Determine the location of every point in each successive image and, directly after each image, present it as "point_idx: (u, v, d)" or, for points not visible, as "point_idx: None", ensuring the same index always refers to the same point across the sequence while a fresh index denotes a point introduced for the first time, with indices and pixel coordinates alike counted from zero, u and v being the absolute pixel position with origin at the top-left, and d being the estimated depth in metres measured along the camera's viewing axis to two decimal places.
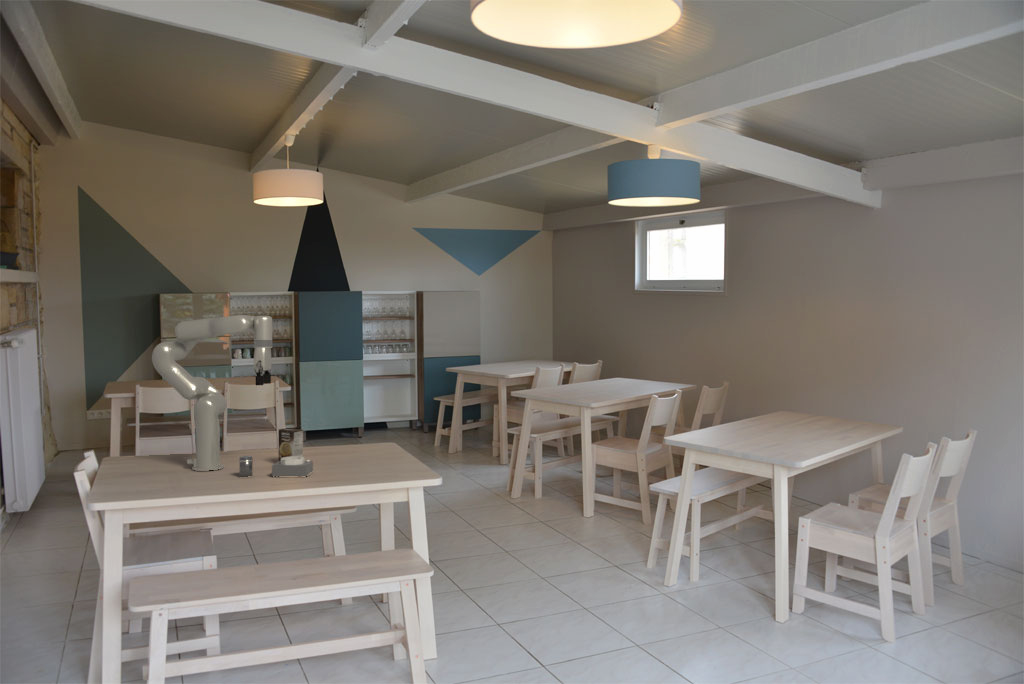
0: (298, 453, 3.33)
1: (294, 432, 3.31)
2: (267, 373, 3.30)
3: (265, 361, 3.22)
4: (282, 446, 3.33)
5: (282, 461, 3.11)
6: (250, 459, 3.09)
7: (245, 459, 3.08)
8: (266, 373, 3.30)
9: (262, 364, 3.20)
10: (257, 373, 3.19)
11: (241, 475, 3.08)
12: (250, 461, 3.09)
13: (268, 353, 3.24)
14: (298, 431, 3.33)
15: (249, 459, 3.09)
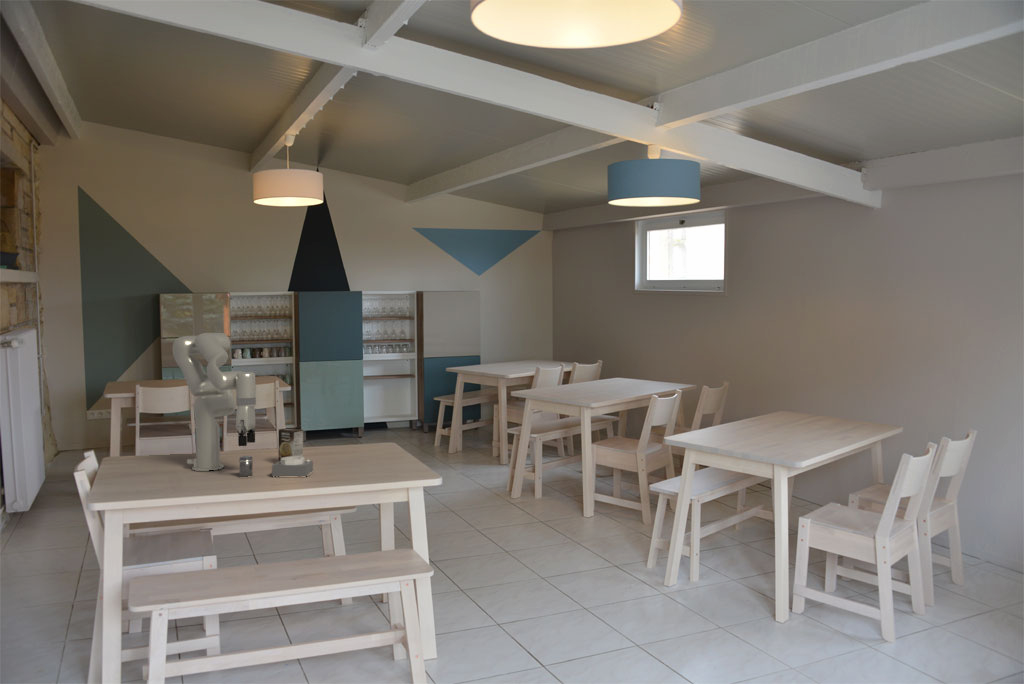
0: (298, 453, 3.33)
1: (294, 432, 3.31)
2: (251, 432, 3.15)
3: (248, 420, 3.06)
4: (282, 446, 3.33)
5: (282, 461, 3.11)
6: (250, 459, 3.09)
7: (245, 459, 3.08)
8: (250, 432, 3.15)
9: (245, 424, 3.05)
10: (240, 433, 3.03)
11: (241, 475, 3.08)
12: (250, 461, 3.09)
13: (251, 411, 3.09)
14: (298, 431, 3.33)
15: (249, 459, 3.09)
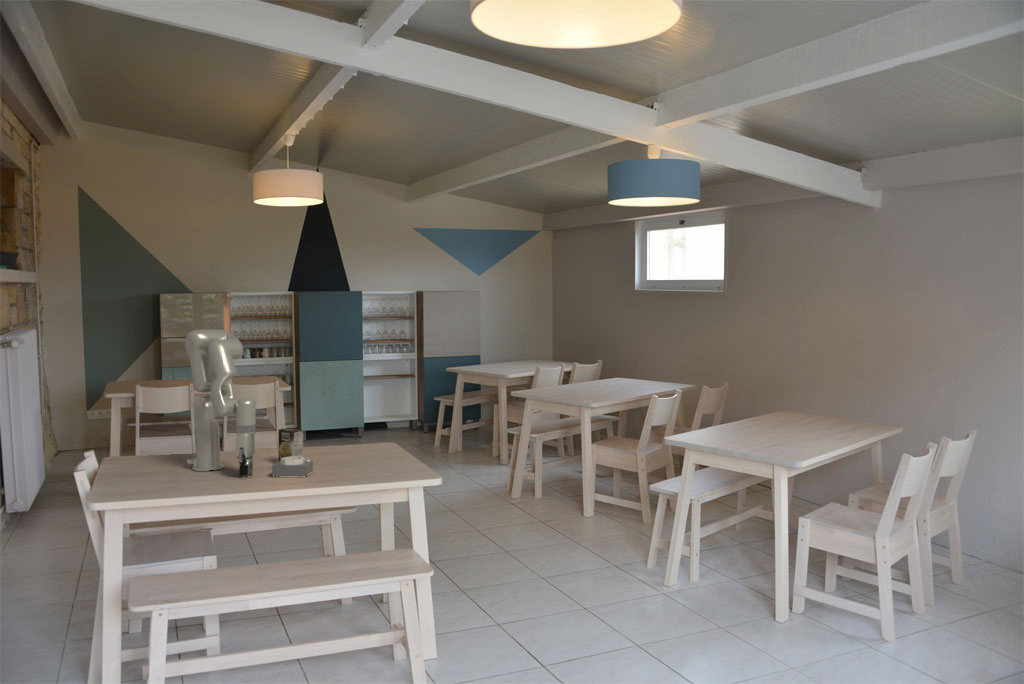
0: (298, 453, 3.33)
1: (294, 432, 3.31)
2: None
3: (248, 448, 3.07)
4: (282, 446, 3.33)
5: (282, 461, 3.11)
6: (250, 459, 3.09)
7: None
8: None
9: (245, 454, 3.06)
10: (241, 463, 3.06)
11: (241, 475, 3.08)
12: (250, 461, 3.09)
13: (251, 439, 3.09)
14: (298, 431, 3.33)
15: (249, 459, 3.09)
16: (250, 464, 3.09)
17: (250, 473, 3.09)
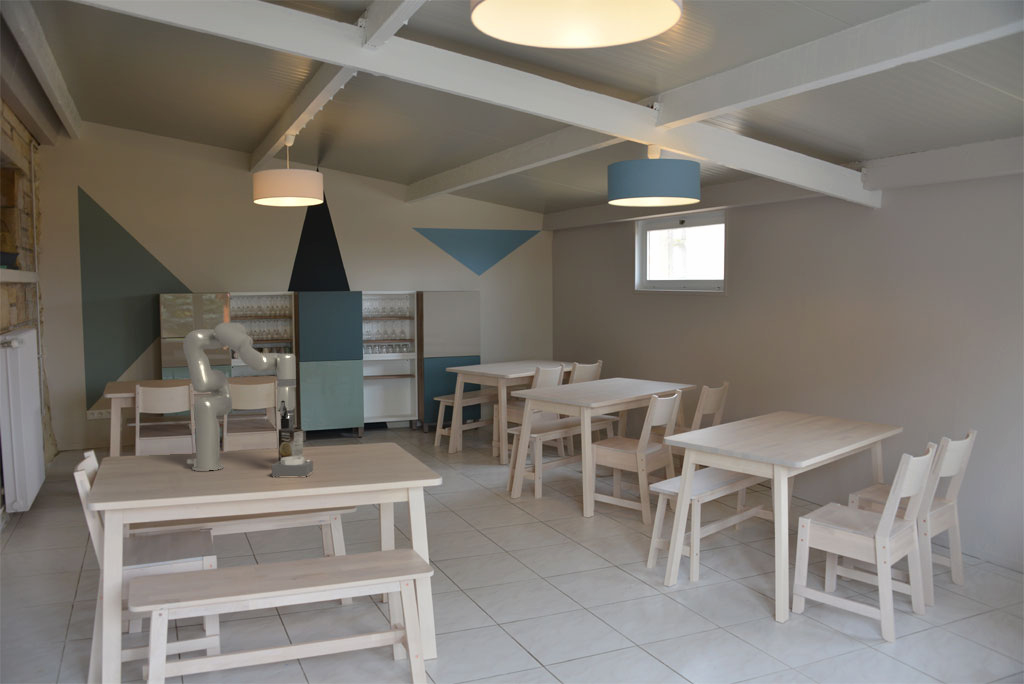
0: (298, 453, 3.33)
1: (294, 432, 3.31)
2: None
3: (289, 401, 3.09)
4: (282, 446, 3.33)
5: (282, 461, 3.11)
6: (291, 413, 3.12)
7: None
8: None
9: (286, 407, 3.08)
10: (282, 416, 3.08)
11: None
12: (291, 415, 3.12)
13: (292, 392, 3.12)
14: (298, 431, 3.33)
15: (290, 412, 3.12)
16: (291, 418, 3.12)
17: (291, 426, 3.12)
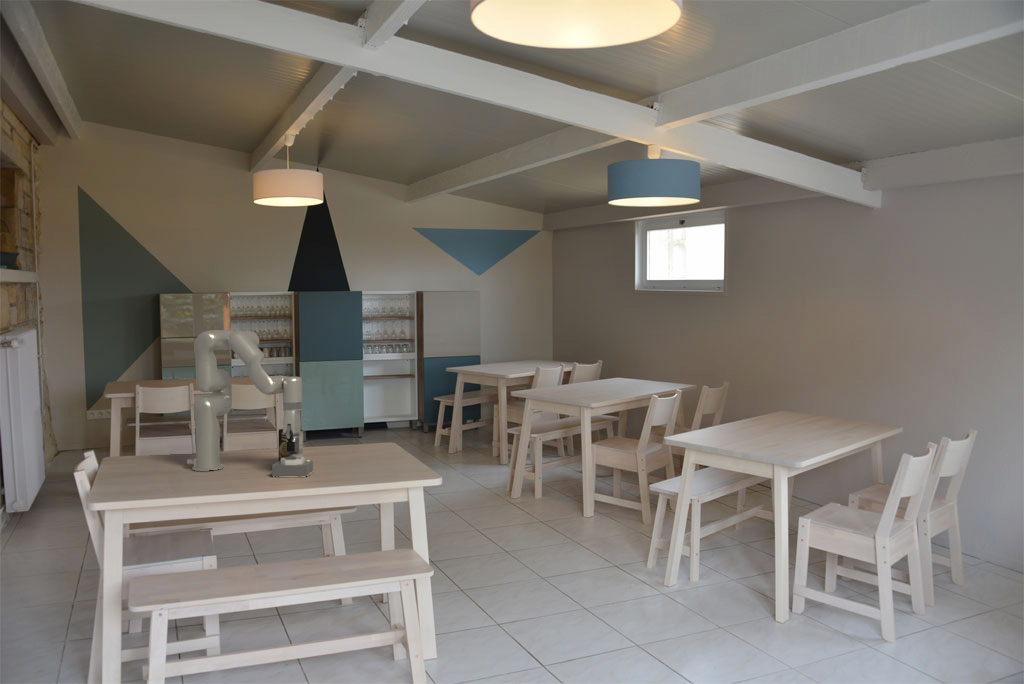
0: (298, 453, 3.33)
1: None
2: None
3: (295, 424, 3.10)
4: (282, 446, 3.33)
5: (282, 461, 3.11)
6: (297, 436, 3.13)
7: None
8: None
9: (292, 431, 3.09)
10: (288, 439, 3.09)
11: None
12: (297, 438, 3.13)
13: (298, 415, 3.13)
14: None
15: (296, 436, 3.13)
16: (297, 441, 3.13)
17: (297, 449, 3.13)
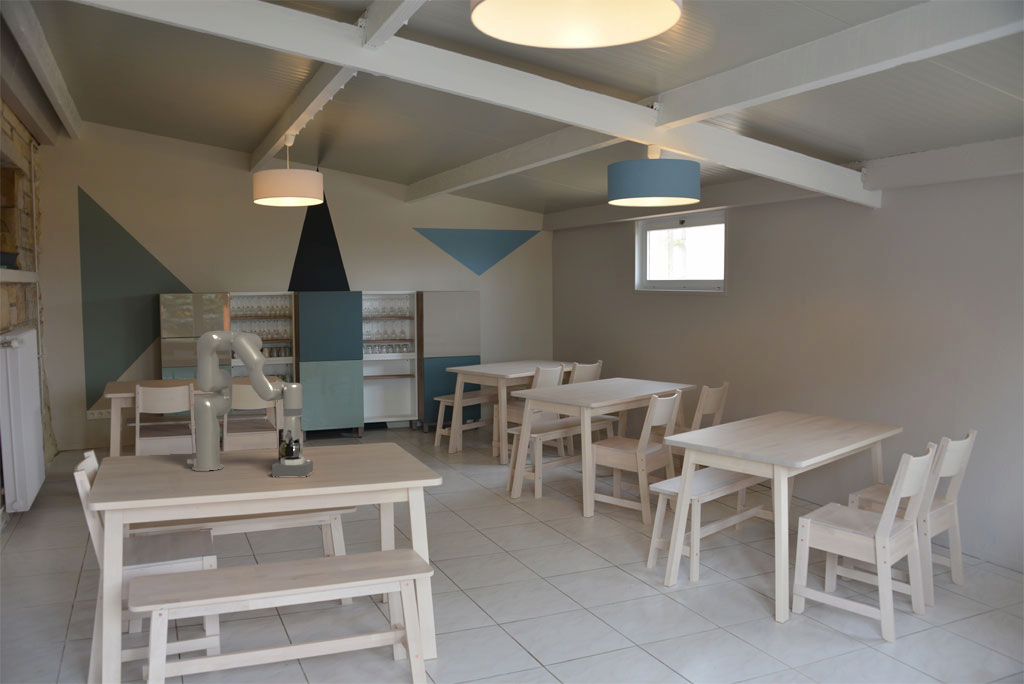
0: None
1: None
2: (296, 442, 3.19)
3: (295, 431, 3.10)
4: (282, 446, 3.33)
5: (282, 461, 3.11)
6: (297, 445, 3.13)
7: None
8: (295, 442, 3.19)
9: (292, 434, 3.09)
10: (287, 444, 3.07)
11: None
12: (297, 447, 3.13)
13: (298, 422, 3.13)
14: None
15: (296, 445, 3.13)
16: (297, 450, 3.13)
17: None
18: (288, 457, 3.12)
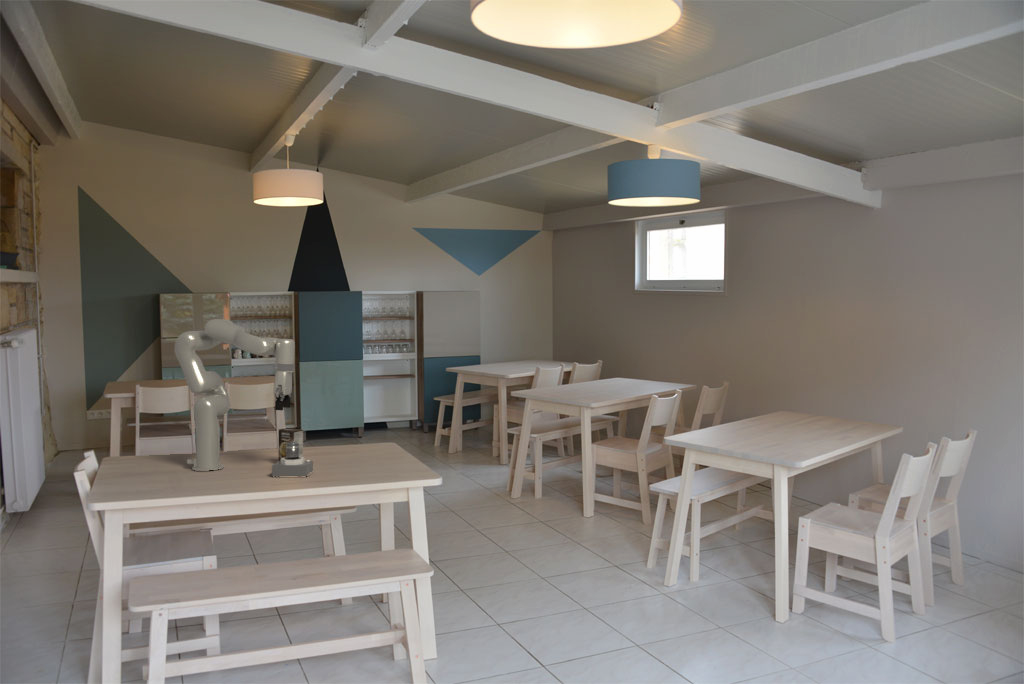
0: None
1: (294, 432, 3.31)
2: (287, 397, 3.23)
3: (286, 386, 3.15)
4: (282, 446, 3.33)
5: (282, 461, 3.11)
6: (297, 445, 3.13)
7: (292, 445, 3.12)
8: (286, 397, 3.23)
9: (282, 389, 3.14)
10: (277, 398, 3.12)
11: None
12: (297, 447, 3.13)
13: (289, 377, 3.18)
14: (298, 431, 3.33)
15: (296, 445, 3.13)
16: (296, 450, 3.13)
17: None
18: (288, 457, 3.12)
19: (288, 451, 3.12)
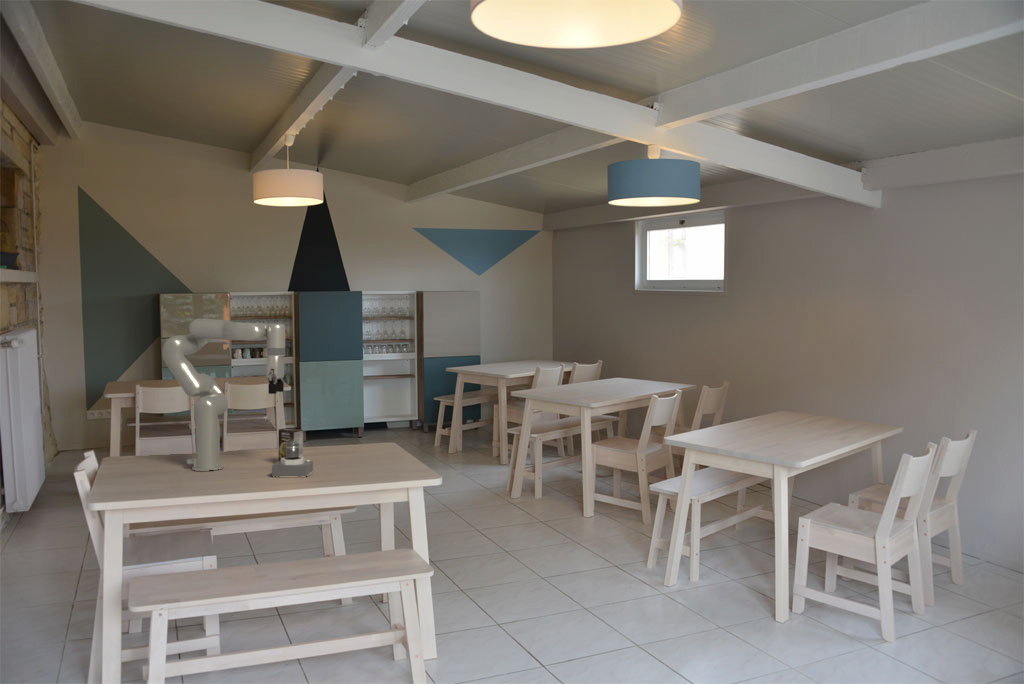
0: None
1: (294, 432, 3.31)
2: (280, 381, 3.28)
3: (278, 369, 3.20)
4: (282, 446, 3.33)
5: (282, 461, 3.11)
6: (297, 445, 3.13)
7: (292, 445, 3.12)
8: (279, 381, 3.28)
9: (275, 372, 3.19)
10: (270, 381, 3.17)
11: None
12: (297, 447, 3.13)
13: (281, 361, 3.23)
14: (298, 431, 3.33)
15: (296, 445, 3.13)
16: (296, 450, 3.13)
17: None
18: (288, 457, 3.12)
19: (288, 451, 3.12)
